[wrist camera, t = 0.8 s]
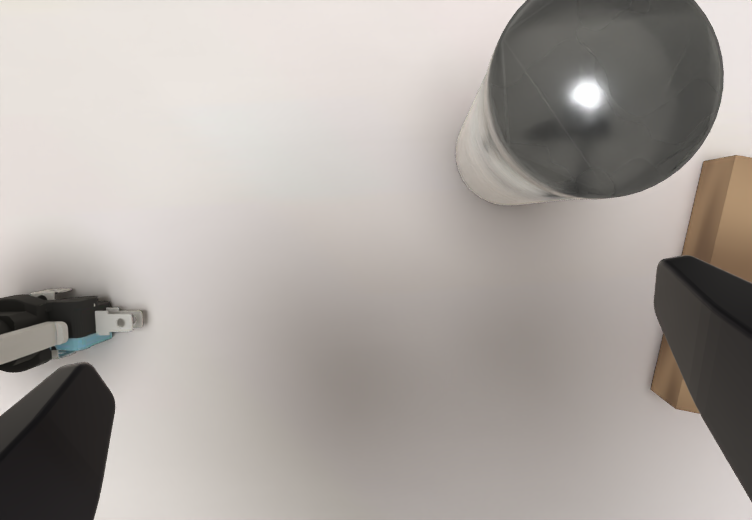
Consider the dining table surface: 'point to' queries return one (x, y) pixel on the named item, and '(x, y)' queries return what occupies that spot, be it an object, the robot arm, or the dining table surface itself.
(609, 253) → the dining table surface
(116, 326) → the push button
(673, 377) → the frame
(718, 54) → the metal canister
